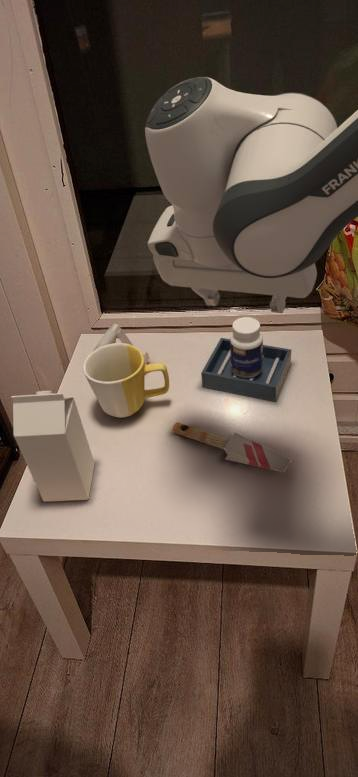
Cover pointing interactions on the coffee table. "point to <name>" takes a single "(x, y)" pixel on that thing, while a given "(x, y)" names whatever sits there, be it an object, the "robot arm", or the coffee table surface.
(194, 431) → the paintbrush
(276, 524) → the coffee table surface
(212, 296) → the robot arm
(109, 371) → the mug
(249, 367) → the pill bottle
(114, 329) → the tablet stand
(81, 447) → the milk carton
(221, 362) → the drying rack
